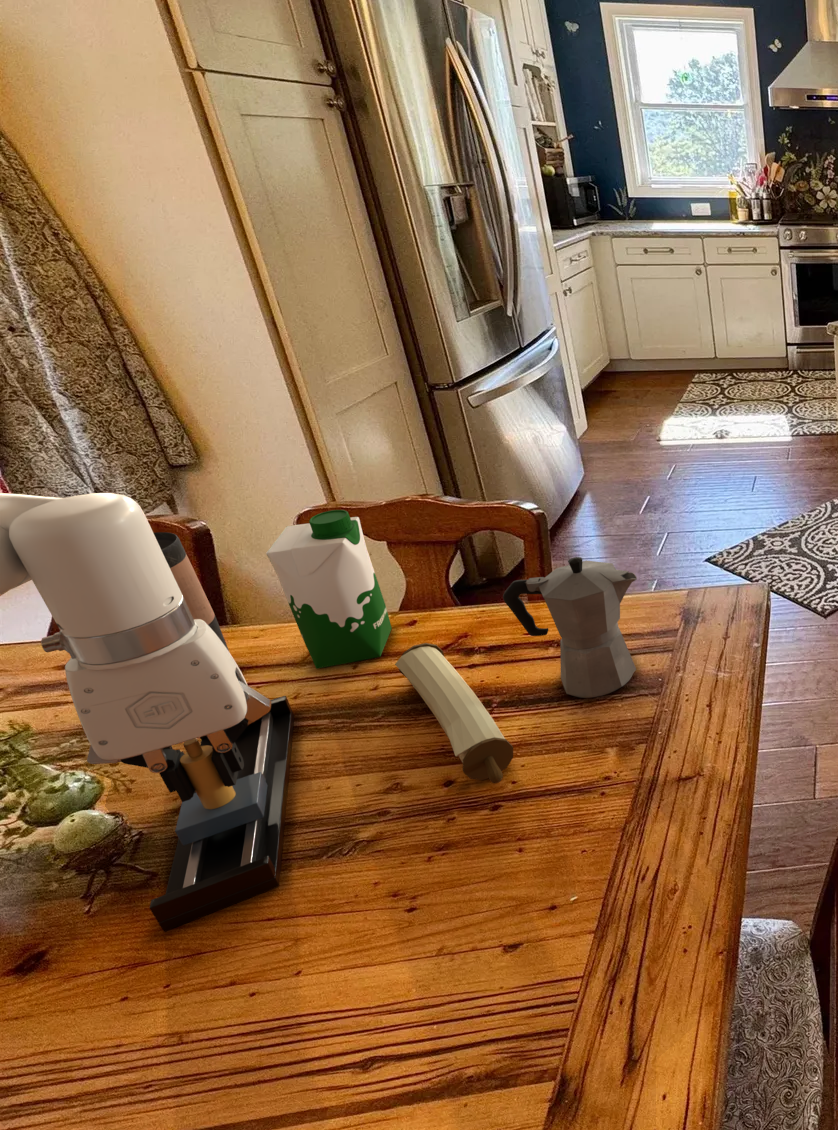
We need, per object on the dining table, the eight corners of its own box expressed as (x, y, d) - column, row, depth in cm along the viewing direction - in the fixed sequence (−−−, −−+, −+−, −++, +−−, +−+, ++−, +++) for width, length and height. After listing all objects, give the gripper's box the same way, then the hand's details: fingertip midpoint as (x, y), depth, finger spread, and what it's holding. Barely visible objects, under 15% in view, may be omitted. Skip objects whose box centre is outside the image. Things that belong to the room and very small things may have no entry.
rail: (163, 932, 68) (148, 908, 67) (206, 742, 88) (195, 721, 87) (279, 886, 72) (267, 863, 71) (294, 715, 93) (285, 695, 91)
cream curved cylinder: (530, 783, 84) (521, 748, 82) (474, 812, 81) (463, 776, 79) (442, 653, 104) (432, 623, 102) (393, 671, 101) (382, 640, 99)
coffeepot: (656, 648, 107) (637, 535, 99) (648, 692, 98) (626, 573, 91) (535, 662, 103) (506, 546, 96) (516, 709, 95) (483, 586, 87)
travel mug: (249, 678, 99) (189, 543, 90) (170, 711, 93) (98, 570, 84) (226, 656, 102) (167, 525, 94) (149, 688, 96) (78, 550, 88)
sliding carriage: (182, 846, 73) (141, 771, 69) (190, 811, 77) (151, 738, 73) (264, 817, 77) (228, 744, 73) (267, 785, 80) (234, 714, 76)
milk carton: (387, 659, 103) (341, 529, 94) (304, 675, 99) (249, 541, 91) (401, 623, 110) (360, 499, 102) (324, 637, 107) (275, 510, 98)
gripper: (-20, 686, 60) (84, 850, 68) (248, 621, 69) (314, 773, 77) (12, 638, 66) (105, 795, 74) (256, 584, 75) (317, 729, 82)
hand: (211, 782), depth 75 cm, fingers closed on sliding carriage, 2 cm apart
